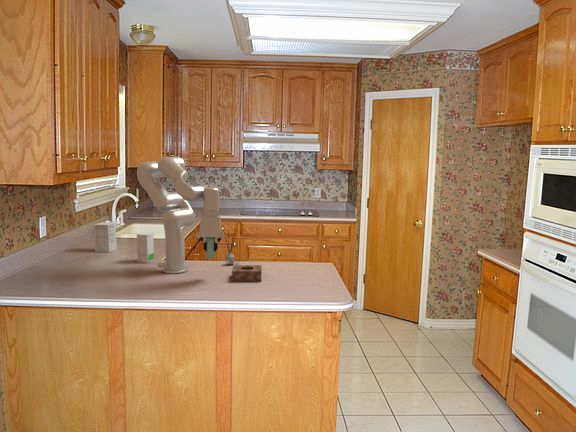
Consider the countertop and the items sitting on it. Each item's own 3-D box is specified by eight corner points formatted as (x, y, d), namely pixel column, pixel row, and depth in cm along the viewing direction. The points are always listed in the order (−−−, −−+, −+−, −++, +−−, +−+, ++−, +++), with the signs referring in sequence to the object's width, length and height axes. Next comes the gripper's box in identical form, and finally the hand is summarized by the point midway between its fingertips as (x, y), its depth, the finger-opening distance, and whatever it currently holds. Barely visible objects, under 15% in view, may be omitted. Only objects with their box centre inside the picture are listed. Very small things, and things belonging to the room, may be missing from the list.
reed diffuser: (220, 264, 274) (220, 228, 271) (226, 262, 280) (226, 226, 278) (237, 266, 270) (237, 229, 268) (243, 264, 277) (243, 227, 274)
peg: (205, 258, 243) (206, 237, 242) (206, 256, 247) (206, 236, 246) (214, 258, 243) (214, 237, 242) (215, 256, 247) (215, 236, 246)
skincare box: (147, 263, 276) (146, 234, 274) (136, 262, 278) (135, 234, 275) (154, 259, 284) (154, 232, 282) (143, 259, 286) (143, 231, 284)
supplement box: (117, 249, 311) (116, 222, 309) (109, 252, 302) (108, 224, 300) (102, 249, 312) (101, 221, 310) (94, 252, 303) (93, 224, 301)
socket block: (231, 281, 241) (231, 271, 240) (233, 275, 253) (233, 265, 252) (261, 281, 242) (261, 271, 241) (261, 275, 253) (261, 265, 253)
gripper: (192, 214, 238) (191, 252, 241) (228, 214, 239) (227, 253, 242) (194, 211, 245) (194, 248, 248) (229, 212, 246) (228, 249, 249)
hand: (210, 250), depth 245 cm, fingers closed on peg, 4 cm apart
